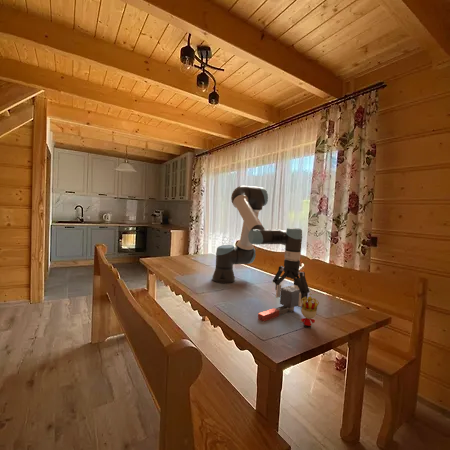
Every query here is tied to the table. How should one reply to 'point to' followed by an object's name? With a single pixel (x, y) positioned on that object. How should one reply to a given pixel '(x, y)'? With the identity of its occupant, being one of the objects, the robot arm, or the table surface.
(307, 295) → the medicine bottle
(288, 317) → the table surface
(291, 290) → the dark wooden cube
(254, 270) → the table surface
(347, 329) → the table surface
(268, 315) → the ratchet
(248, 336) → the table surface
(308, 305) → the toy
